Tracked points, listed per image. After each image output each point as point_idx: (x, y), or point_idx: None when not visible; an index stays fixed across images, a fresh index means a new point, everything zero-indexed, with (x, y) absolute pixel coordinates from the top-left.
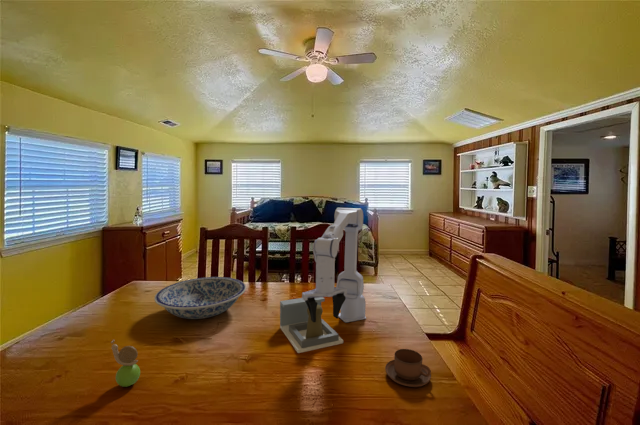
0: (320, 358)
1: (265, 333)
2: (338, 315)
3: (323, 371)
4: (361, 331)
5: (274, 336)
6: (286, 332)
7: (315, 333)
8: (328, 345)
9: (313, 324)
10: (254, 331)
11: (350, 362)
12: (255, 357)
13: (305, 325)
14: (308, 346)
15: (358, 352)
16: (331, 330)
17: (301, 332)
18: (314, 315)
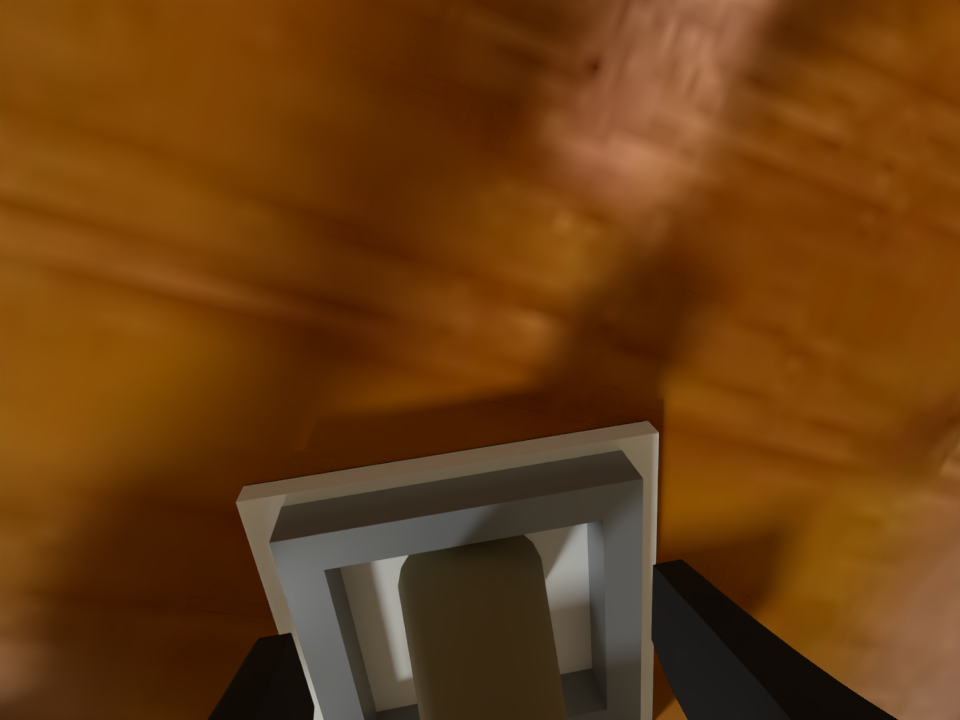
0: (509, 311)
1: None
2: (233, 678)
3: (552, 113)
4: (16, 631)
5: None
6: (646, 664)
7: (494, 576)
8: (387, 468)
9: (527, 656)
10: None
11: (265, 177)
12: (916, 432)
13: None
14: (567, 461)
15: (136, 317)
16: (319, 618)
17: None
18: (759, 645)
